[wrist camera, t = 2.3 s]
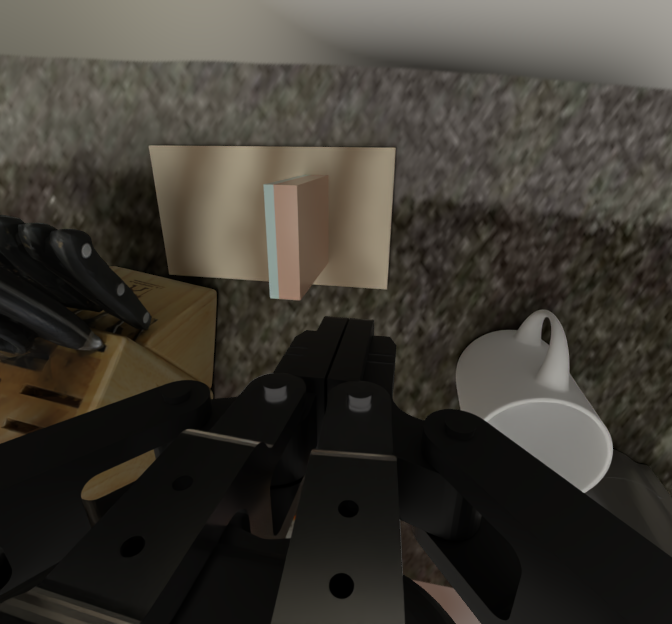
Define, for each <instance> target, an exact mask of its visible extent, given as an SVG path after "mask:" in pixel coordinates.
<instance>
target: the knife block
mask: <svg viewBox="0 0 672 624" xmlns="http://www.w3.org/2000/svg"><path fill="white" fill-rule="evenodd" d="M216 306H217V292H216V290H214V289H210V288H206V287H202V286H198V285H194V284H189V283H185V282H181V281H177V280H172V279H168V278H164V277H160V276H155V275H151V274H147V273H143V272H138V271H134V270H130V269H125V268H121V267H117V266H108V265H107V264H106V263H105V262H104V261H103V259H102V258H101V257H100V256H99V255H98V253H97V252H96V250H95V249H94V247H93V245H92V241H91V238H90V236H89V235H88V234H86V233H85V232H83V231H80V230H76V229H60V230H57V229H56V228H54V227H52V226H50V225H48V224H44V223H24V222H23V221H22V220H21V219H20V218H15V217H11V216H6V215H0V444H1V443H3V442H6V441H9V440H12V439H15V438H17V437H20V436H23V435H26V434H28V433H31V432H34V431H37V430H40V429H42V428H45V427H48V426H51V425H53V424H56V423H59V422H62V421H65V420H67V419H70V418H73V417H76V416H78V415H81V414H84V413H87V412H90V411H92V410H95V409H98V408H101V407H103V406H106V405H109V404H112V403H115V402H117V401H120V400H123V399H126V398H128V397H131V396H134V395H137V394H139V393H142V392H145V391H148V390H151V389H153V388H156V387H159V386H162V385H164V384H167V383H171V382H175V381H181V380H195V381H199V382H202V383H204V384H206V385H207V386H208V387H209V389H210V388H211V386H212V377H213V362H214V345H215V327H216ZM210 395H211V399H213V392H212V391H211V390H210ZM155 460H156V458H155V454H154V449H153V450H151V451H149V452H146V453H144V454H142V455H140V456H138V457H135V458H133V459H131V460H129V461H127V462H124V463H122V464H120V465H118V466H116V467H113V468H111V469H109V470H107V471H104V472H102V473H100V474H98V475H96V476H94V477H93V478H92V479H90V480H89V481H88V482H87V483H86V485H85V486H84V488H83V490H82V493H81V498H82V499H84V500H95V499H98V498H101V497H103V496H105V495H107V494H109V493H111V492H113V491H115V490H117V489H119V488H121V487H123V486H125V485H128V484H130V483H132V482H134V481H136V480H137V479H138V478H139V477H140V476H141V475H142V474H143V473H144V472H145V470H146V469H147V468H148V467H149V466H150V465H151V464H152V463H153V462H154V461H155Z"/></svg>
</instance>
